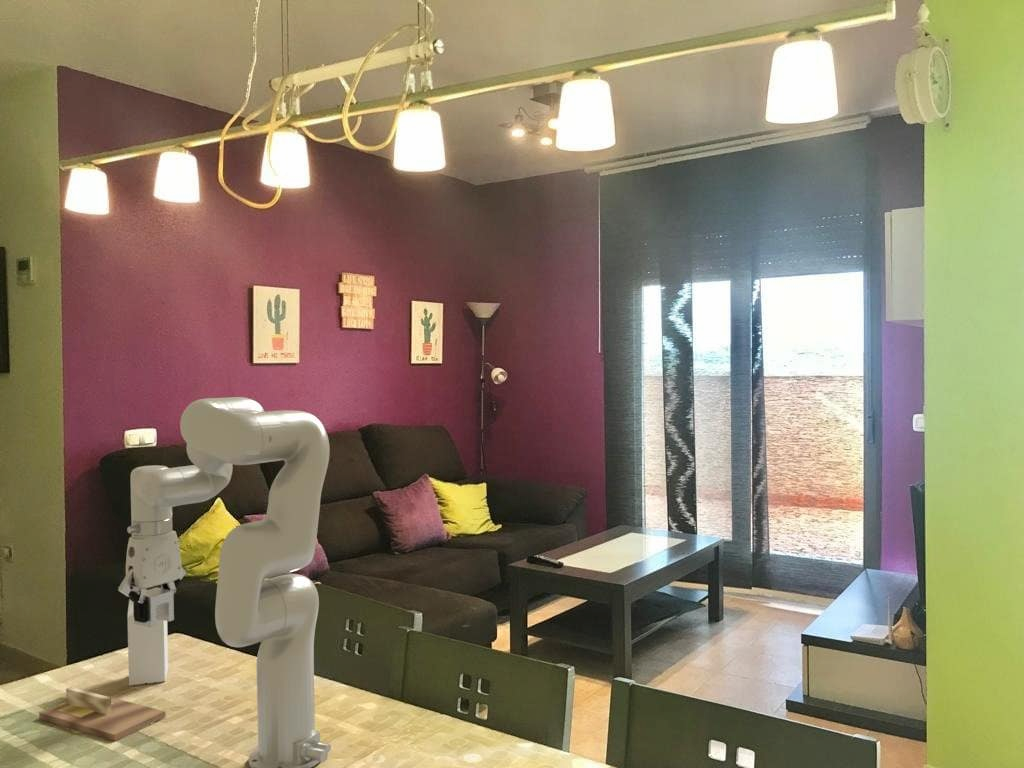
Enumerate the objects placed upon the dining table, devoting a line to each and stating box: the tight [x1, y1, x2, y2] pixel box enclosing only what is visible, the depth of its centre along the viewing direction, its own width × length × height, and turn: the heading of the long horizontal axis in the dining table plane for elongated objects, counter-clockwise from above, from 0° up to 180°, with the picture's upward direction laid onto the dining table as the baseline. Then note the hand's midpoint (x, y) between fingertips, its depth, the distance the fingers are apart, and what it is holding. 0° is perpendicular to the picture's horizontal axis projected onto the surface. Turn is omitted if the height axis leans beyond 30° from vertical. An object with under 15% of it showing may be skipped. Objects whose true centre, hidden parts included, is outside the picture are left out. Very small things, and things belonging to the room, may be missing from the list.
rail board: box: [38, 686, 167, 742], centre depth 159 cm, size 22×11×4 cm, turn 63°
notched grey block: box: [134, 587, 175, 627], centre depth 165 cm, size 5×5×6 cm
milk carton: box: [126, 598, 169, 686], centre depth 179 cm, size 7×7×19 cm
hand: (154, 616), depth 165 cm, fingers closed on notched grey block, 5 cm apart
